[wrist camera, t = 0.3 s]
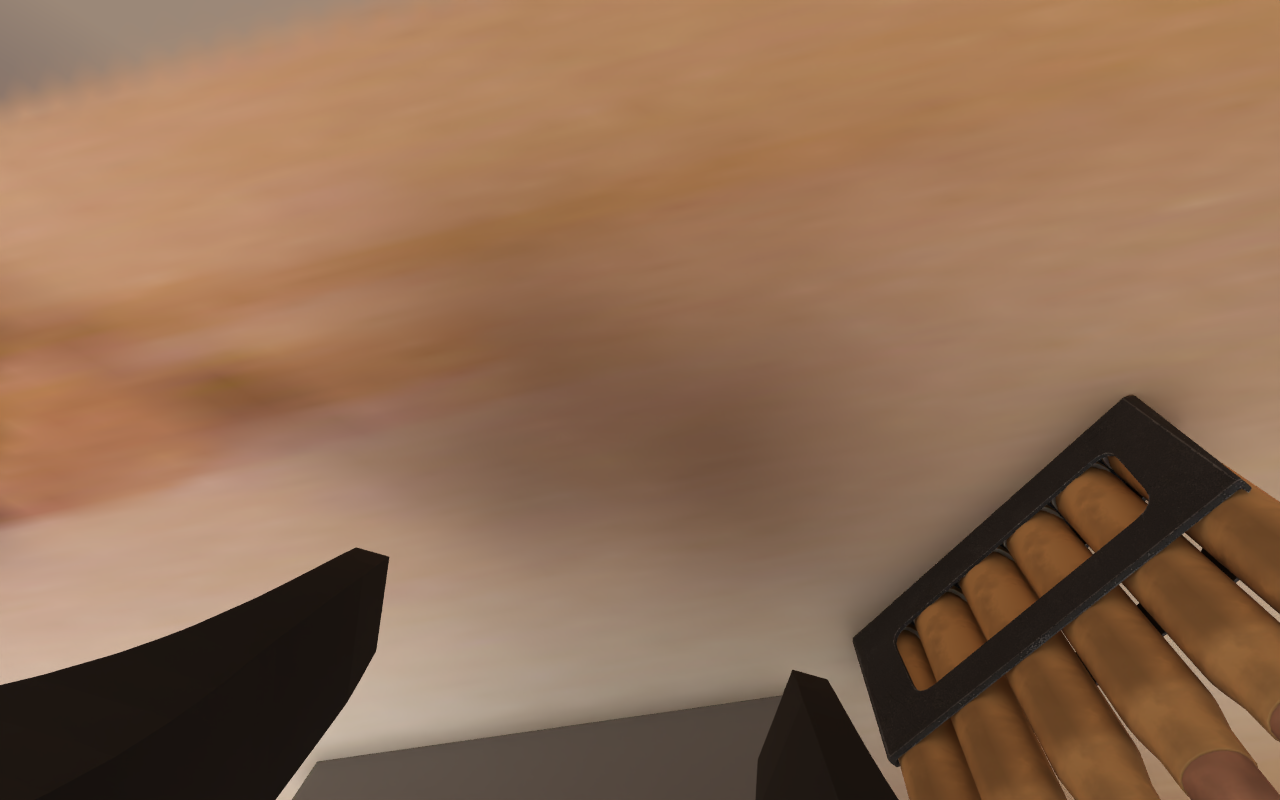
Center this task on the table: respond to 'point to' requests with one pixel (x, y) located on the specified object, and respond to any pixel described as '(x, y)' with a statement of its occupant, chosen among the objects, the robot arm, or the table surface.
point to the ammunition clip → (1089, 631)
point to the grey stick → (570, 762)
